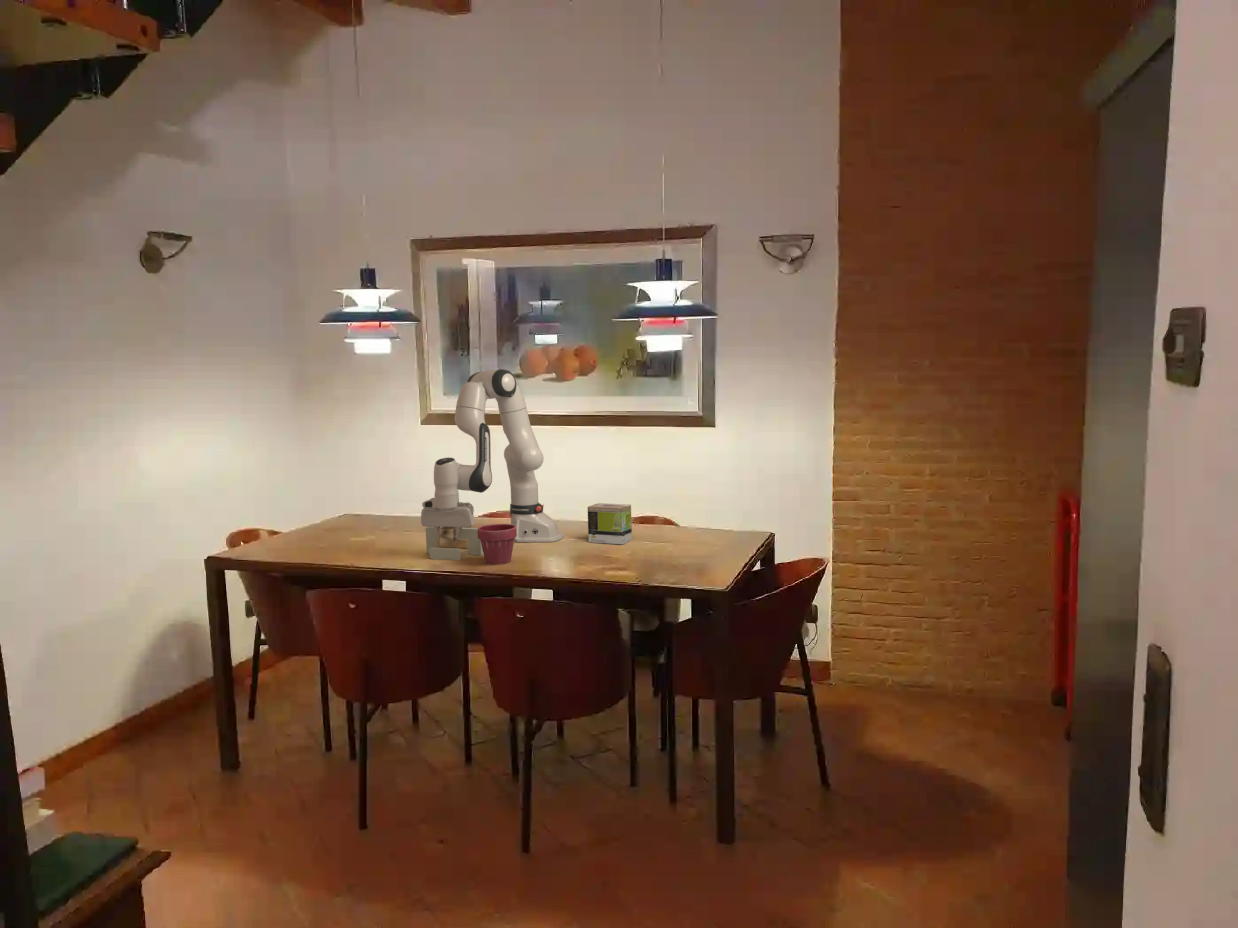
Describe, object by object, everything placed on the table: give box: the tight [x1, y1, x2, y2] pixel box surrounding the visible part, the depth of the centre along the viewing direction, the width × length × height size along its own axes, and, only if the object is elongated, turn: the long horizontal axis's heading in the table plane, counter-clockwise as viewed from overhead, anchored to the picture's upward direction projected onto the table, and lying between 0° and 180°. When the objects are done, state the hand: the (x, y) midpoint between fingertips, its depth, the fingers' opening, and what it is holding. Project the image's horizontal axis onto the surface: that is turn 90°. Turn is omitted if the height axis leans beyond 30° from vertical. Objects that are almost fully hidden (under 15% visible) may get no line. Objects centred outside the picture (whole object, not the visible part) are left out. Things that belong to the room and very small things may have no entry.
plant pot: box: [477, 523, 517, 565], centre depth 338 cm, size 14×14×13 cm
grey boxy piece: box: [425, 527, 484, 561], centre depth 348 cm, size 22×10×10 cm, turn 77°
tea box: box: [587, 502, 633, 545], centre depth 369 cm, size 15×10×15 cm
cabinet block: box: [439, 527, 457, 545], centre depth 346 cm, size 5×5×6 cm
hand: (448, 538), depth 347 cm, fingers closed on cabinet block, 5 cm apart
